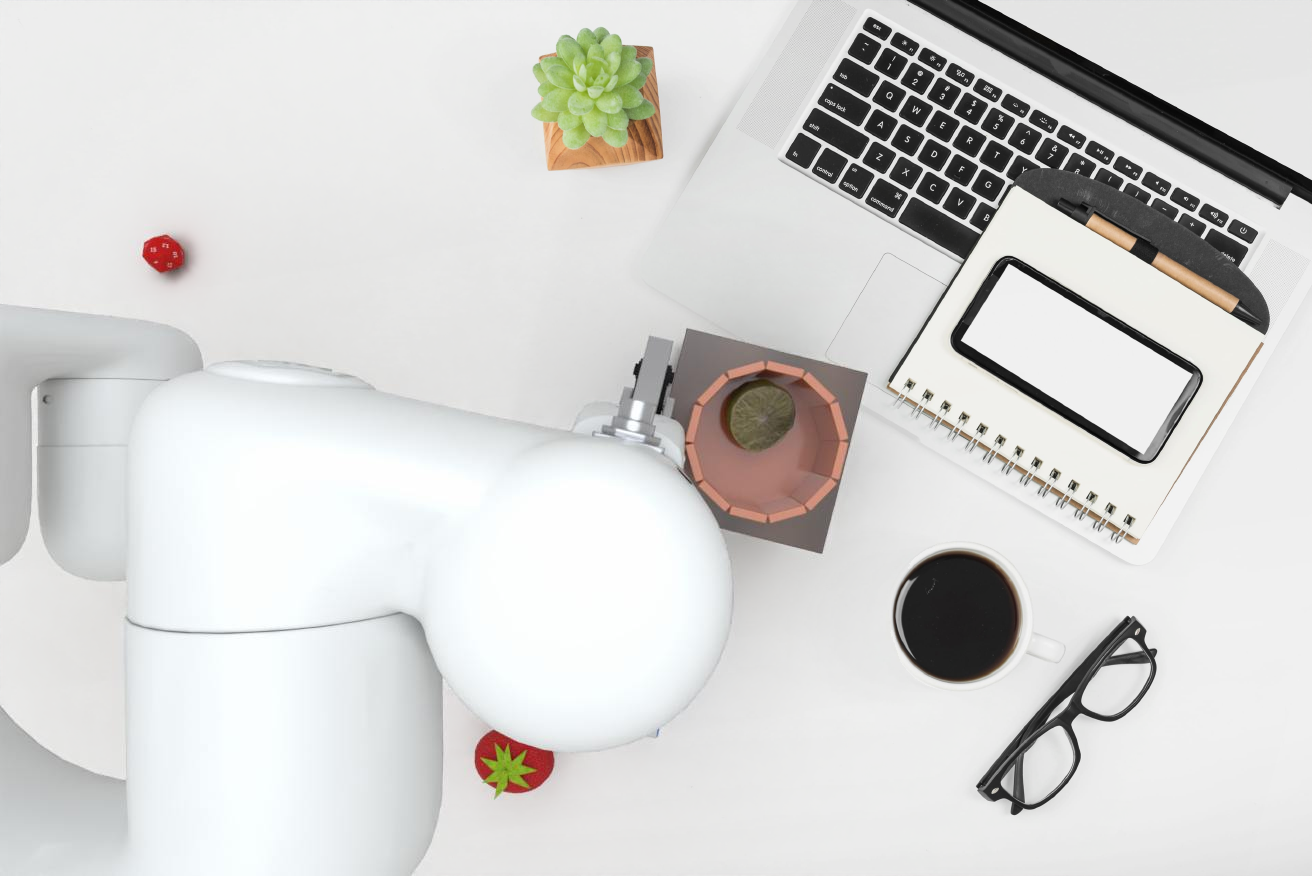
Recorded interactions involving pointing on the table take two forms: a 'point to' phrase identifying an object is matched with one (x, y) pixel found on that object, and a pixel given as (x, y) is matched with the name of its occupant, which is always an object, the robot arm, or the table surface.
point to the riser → (717, 355)
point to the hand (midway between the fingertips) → (625, 500)
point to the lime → (759, 414)
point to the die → (163, 253)
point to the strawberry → (511, 764)
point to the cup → (776, 474)
